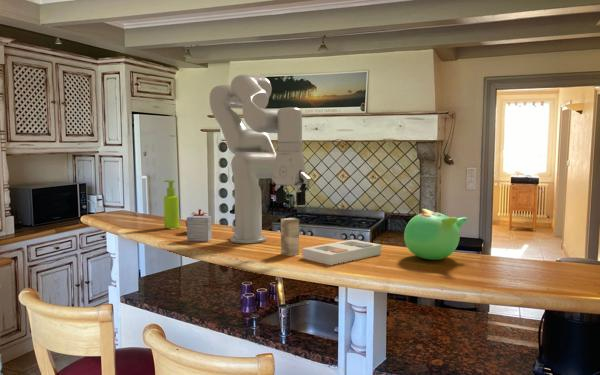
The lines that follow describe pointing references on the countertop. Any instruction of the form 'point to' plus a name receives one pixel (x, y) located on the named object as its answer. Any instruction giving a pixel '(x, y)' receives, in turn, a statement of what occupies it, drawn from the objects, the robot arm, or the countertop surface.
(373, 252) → the socket block
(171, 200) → the soap dispenser
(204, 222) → the grey gift box
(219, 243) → the countertop surface
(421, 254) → the toy bird
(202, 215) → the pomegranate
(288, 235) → the maple peg
